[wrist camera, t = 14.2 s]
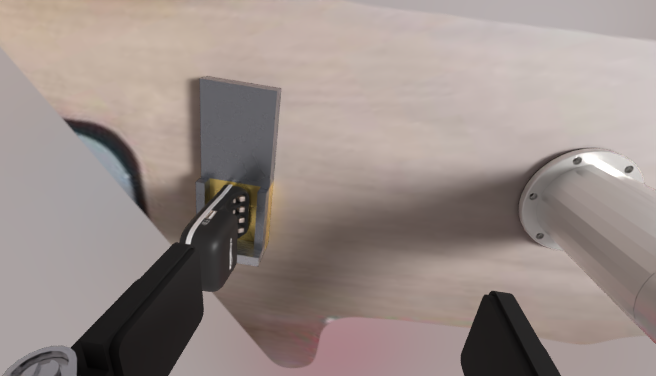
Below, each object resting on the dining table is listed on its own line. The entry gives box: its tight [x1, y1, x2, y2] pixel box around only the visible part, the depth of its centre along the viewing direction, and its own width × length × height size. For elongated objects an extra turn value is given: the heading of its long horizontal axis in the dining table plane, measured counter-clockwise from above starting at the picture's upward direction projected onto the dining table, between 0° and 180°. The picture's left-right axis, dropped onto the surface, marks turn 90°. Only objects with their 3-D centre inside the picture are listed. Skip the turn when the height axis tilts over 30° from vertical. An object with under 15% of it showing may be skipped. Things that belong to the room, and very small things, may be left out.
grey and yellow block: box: [196, 76, 281, 266], centre depth 37 cm, size 8×20×5 cm, turn 171°
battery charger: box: [180, 184, 250, 292], centre depth 34 cm, size 7×4×11 cm, turn 172°
